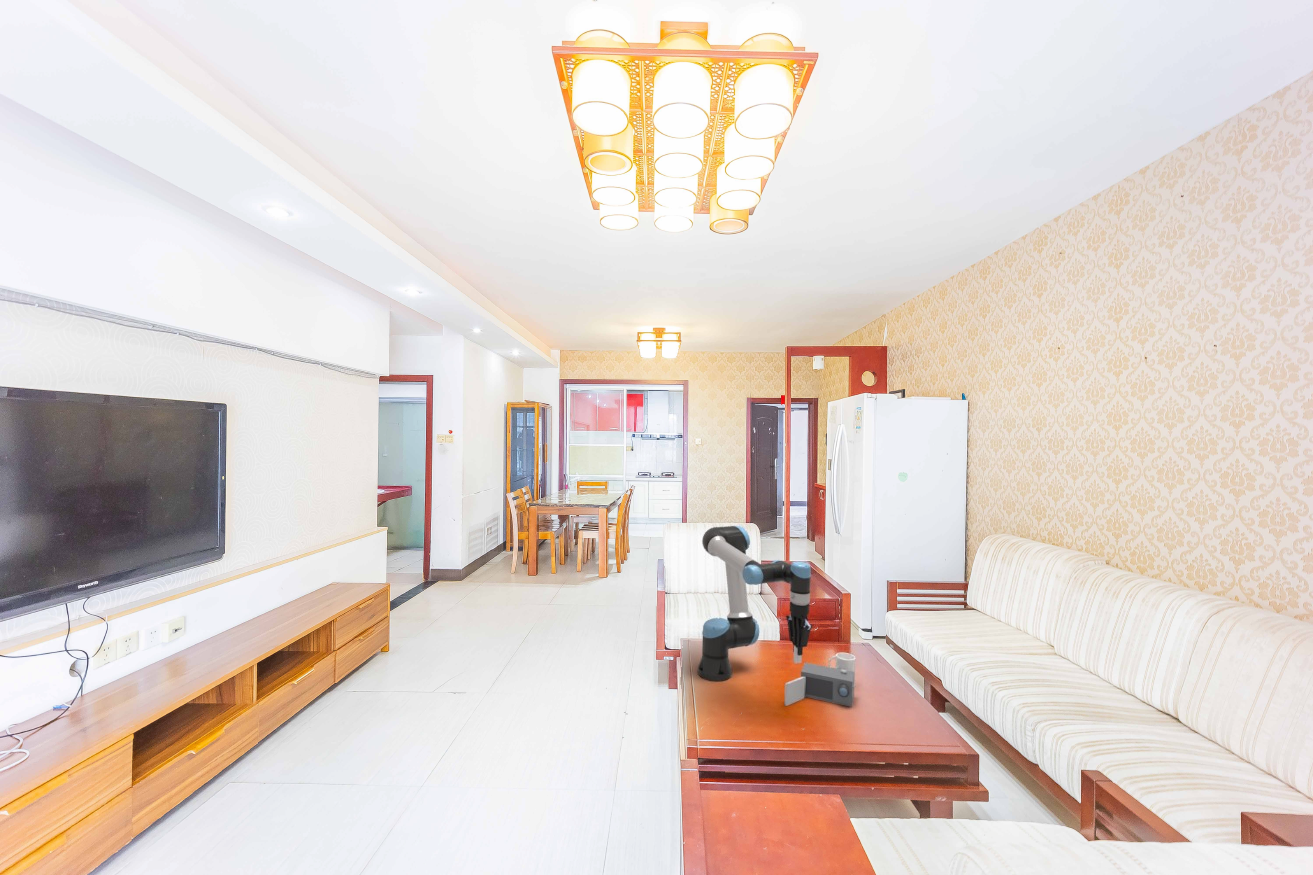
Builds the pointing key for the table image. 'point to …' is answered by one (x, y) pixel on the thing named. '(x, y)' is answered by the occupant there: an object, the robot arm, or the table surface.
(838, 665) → the mug
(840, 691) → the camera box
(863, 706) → the table surface
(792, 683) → the door
